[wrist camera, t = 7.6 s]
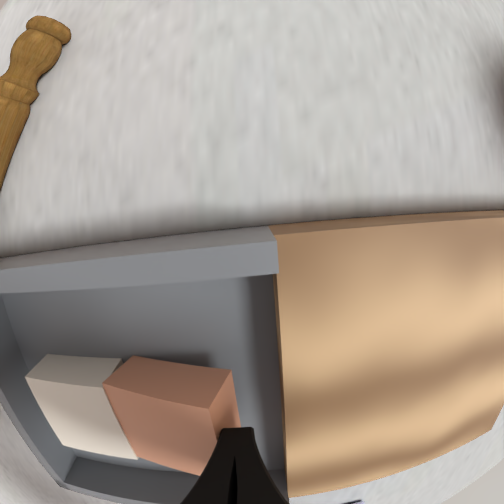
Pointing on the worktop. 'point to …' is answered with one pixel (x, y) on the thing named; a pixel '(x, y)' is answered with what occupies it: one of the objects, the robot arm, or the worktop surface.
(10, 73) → the tap handle
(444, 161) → the worktop surface
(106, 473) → the tray
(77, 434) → the tile
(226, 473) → the robot arm
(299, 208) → the worktop surface
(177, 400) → the tile
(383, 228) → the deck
